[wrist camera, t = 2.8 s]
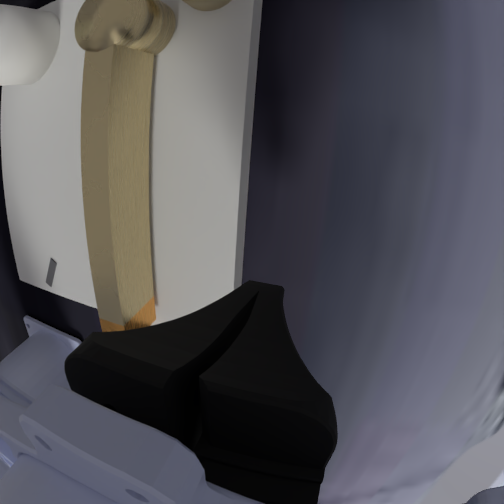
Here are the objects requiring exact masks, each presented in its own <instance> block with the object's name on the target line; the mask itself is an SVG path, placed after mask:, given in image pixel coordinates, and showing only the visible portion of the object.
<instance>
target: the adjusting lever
mask: <svg viewBox="0 0 504 504" xmlns="http://www.w3.org/2000/svg"><path fill="white" fill-rule="evenodd" d="M175 26H176V19H175V14H174V12H173V10H172V9H171V8H170V7H169V6H168V5H167V4H165V3H164V2H162V1H160V0H85V2H84V3H83V5H82V6H81V8H80V10H79V12H78V15H77V18H76V21H75V28H74V32H75V38H76V41H77V43H78V45H79V46H80V47H81V48H82V49H83V50H85V57H84V68H83V81H82V98H81V176H82V194H83V208H84V219H85V229H86V238H87V246H88V254H89V261H90V268H91V274H92V281H93V287H94V292H95V298H96V303H97V308H98V313H99V318H100V323H101V328H102V332H111V331H123V330H131V329H137V328H143V327H148V326H150V325H151V324H152V323H153V322H154V321H155V320H156V312H155V301H154V290H153V277H152V263H151V245H150V222H149V125H150V103H151V86H152V72H153V60H154V56H156V55H157V54H159V53H160V52H161V51H162V50H163V49H164V48H165V47H166V46H167V45H168V43H169V42H170V40H171V38H172V36H173V34H174V31H175Z"/></svg>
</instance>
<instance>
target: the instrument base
mask: <svg viewBox="0 0 504 504" xmlns="http://www.w3.org/2000/svg"><path fill="white" fill-rule="evenodd" d="M160 1H162V2H164V3H165V4H167V5H168V6H169V7H170V8H171V9H172V10H173V12H174V14H175V19H176V26H175V31H174V34H173V36H172V38H171V40H170V42H169V43H168V45H167V46H166V47H165V48H164V49H163V50H162V51H161V52H160V53H159V54H157V55H156V56H154V60H153V72H152V86H151V103H150V125H149V222H150V245H151V263H152V277H153V290H154V301H155V312H156V320H155V321H154V322H153V323H152V324H151V325H156V324H160V323H163V322H167V321H171V320H174V319H177V318H180V317H182V316H185V315H188V314H190V313H193V312H195V311H197V310H199V309H201V308H203V307H205V306H207V305H209V304H211V303H213V302H215V301H217V300H219V299H220V298H222V297H224V296H225V295H227V294H229V293H230V292H232V291H233V290H235V289H237V288H238V287H240V286H241V284H242V269H243V254H244V239H245V224H246V210H247V196H248V182H249V168H250V154H251V140H252V127H253V113H254V100H255V87H256V74H257V62H258V49H259V37H260V25H261V12H262V1H263V0H160ZM84 2H85V0H56V1H54V2H51V3H49V4H47V5H45V6H43V7H41V8H39V9H31V8H25V7H19V6H11V5H3V4H0V86H2V95H1V157H2V173H3V184H4V194H5V202H6V210H7V217H8V224H9V230H10V236H11V241H12V246H13V251H14V256H15V261H16V265H17V270H18V274H19V278H20V280H21V281H24V282H26V283H29V284H31V285H34V286H36V287H39V288H42V289H44V290H47V291H49V292H52V293H55V294H57V295H60V296H63V297H66V298H68V299H71V300H74V301H77V302H80V303H82V304H85V305H88V306H91V307H94V308H97V303H96V298H95V292H94V287H93V281H92V274H91V268H90V261H89V254H88V246H87V238H86V229H85V219H84V208H83V194H82V176H81V98H82V81H83V68H84V57H85V50H83V49H82V48H81V47H80V46H79V45H78V43H77V41H76V38H75V32H74V28H75V21H76V18H77V15H78V12H79V10H80V8H81V6H82V5H83V3H84ZM97 309H98V308H97Z"/></svg>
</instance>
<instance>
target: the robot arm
mask: <svg viewBox="0 0 504 504" xmlns="http://www.w3.org/2000/svg"><path fill="white" fill-rule="evenodd" d="M283 297H284V288H283V287H282V286H278V285H272V284H267V283H261V282H256V281H250V280H249V281H248V282H246V283H244V284H243V285H241V286H240V287H238V288H237V289H235V290H233V291H232V292H230V293H229V294H227V295H225V296H224V297H222V298H220V299H219V300H217V301H215V302H213V303H211V304H209V305H207V306H205V307H203V308H201V309H199V310H197V311H195V312H193V313H190V314H188V315H185V316H182V317H180V318H177V319H174V320H171V321H167V322H163V323H160V324H156V325H152V326H148V327H143V328H137V329H131V330H123V331H111V332H93V333H92V334H90V335H89V336H88V337H87V338H86V339H85V340H84V341H83V342H81V340H79V339H78V338H75V337H73V336H71V335H68V334H66V333H64V332H62V331H59V330H57V329H55V328H53V327H51V326H48V325H46V324H44V323H42V322H40V321H38V320H36V319H34V318H32V317H30V316H27V315H26V316H25V317H24V322H25V325H26V328H27V331H28V334H29V338H28V339H27V340H26V341H24V342H23V343H22V344H21V345H20V346H18V347H17V348H16V349H15V350H14V351H13V352H11V353H10V354H9V355H8V356H7V357H5V358H4V359H3V360H2V361H1V362H0V504H317V502H318V496H319V490H320V484H321V483H322V482H323V478H324V472H325V467H326V465H327V463H328V462H329V460H330V458H331V456H332V454H333V452H334V450H335V448H336V444H337V437H338V433H337V421H336V415H335V410H334V405H333V401H332V398H331V396H330V395H329V394H328V393H327V392H326V391H325V390H324V389H323V388H322V387H321V386H320V385H319V384H318V383H317V381H316V380H315V379H314V377H313V376H312V375H311V373H310V372H309V371H308V369H307V367H306V366H305V364H304V363H303V361H302V359H301V358H300V356H299V354H298V352H297V350H296V348H295V346H294V343H293V341H292V339H291V336H290V333H289V330H288V327H287V323H286V319H285V314H284V309H283ZM464 504H504V486H502V487H496V488H490V489H486V490H483V491H481V492H479V493H477V494H476V495H474V496H473V497H472V498H471V499H470V500H468V502H467V503H464Z"/></svg>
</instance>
